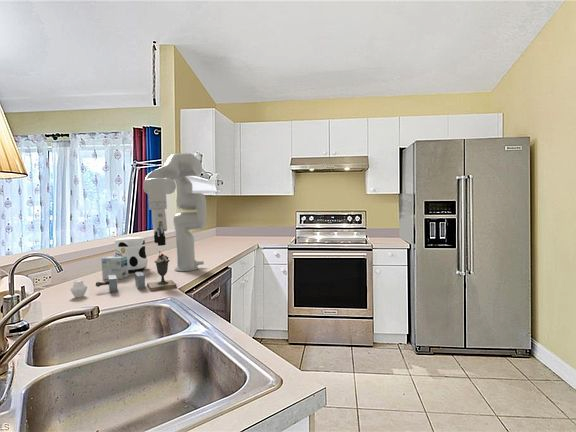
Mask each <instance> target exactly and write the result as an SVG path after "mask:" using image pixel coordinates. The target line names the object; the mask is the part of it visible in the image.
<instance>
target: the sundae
mask: <svg viewBox="0 0 576 432" xmlns="http://www.w3.org/2000/svg"><path fill="white" fill-rule="evenodd" d="M169 262H170V260H169V256H167V255H164V253H161V251H160V250H159V253H158V257H157V259H155V261H154V263H155V266H156V272H157V274H158V275H159V276H160V277H161V279H160V281H161V282H159V281H158V282H159V283H157V284H159V285H162V284H168V283H169V282H166V281H167V280H165V275H166V274H167V273H168V268H169Z"/></svg>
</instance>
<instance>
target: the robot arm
mask: <svg viewBox="0 0 576 432" xmlns="http://www.w3.org/2000/svg"><path fill="white" fill-rule="evenodd" d="M202 172H203V166H202V163H201V161H200V159H198V157H196V155H194V154H193V153H172V154H171V155H169V157H168V158H167V159H166V161H165V163H164V164H163V166H160V167H158V168H155V169H154V170H152V171H151V172H149V173H148V174H147V175H146V176H145V179H144V180H143V182H142V189H143V192H144V193H146V194H147V196H148V199H147V200H148V210H149V211H150V210H151V220H152V222H151V223H152V229H153V239H154V241H153V243H154V244H157V246H158V247H159V246H161V247H162V246H166V243H167V242H166V234H165V232H167V231H168V225H167V214H166V210H167V207H168V204H167V195H171V194H174V192H175V190H176V207H177V209H178V210H180V211H186V212H178V213H176V214H175V215H174V216H173V218H172V219H173V226H174V230H175V239H176V240H175V241H176V243H175V245H176V246H175V247H176V260H177V261H176V263H177V266H175V267H174V271H176V272H190V271H197V269H199V265H200V266H201V265H204V263H205V262H204V260H202V261H199V260H198V261H197V260H195V259H196V257H195V255H196V253H195V238H194V235H193V233H192V232H191V230H204V229H205V228H206V226H207V225H206V224H207V198H206V195H205V194H204V193H202V192H193V183H192V182H191V180H190V179H189V178H188V177H196V176H197V177H198V176H200V175H201V174H202ZM187 211H190V212H187ZM191 211H192V212H191ZM193 211H195V212H193ZM196 211H197V212H196Z"/></svg>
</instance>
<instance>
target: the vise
mask: <svg viewBox="0 0 576 432" xmlns="http://www.w3.org/2000/svg"><path fill="white" fill-rule="evenodd" d="M145 279H146V277H145V274H144V272H143V271H134V280H135V288H136V289H137V290H145V289H146V280H145ZM102 286H108V290H109V294H115V293H118V292H119V290H118V279H117V277H116V275H108V279H107V281H97V282H96V283H95V287H97V288H98V287H99V288H100V287H102Z"/></svg>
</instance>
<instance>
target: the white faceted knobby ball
mask: <svg viewBox="0 0 576 432" xmlns="http://www.w3.org/2000/svg"><path fill="white" fill-rule="evenodd" d="M69 290H70V291H71V294H72V295H73V297H74V298H75V299H76V298H83V297H84V296H85V294H86V292H87V290H88V286H87V285H86V284H85V283H84V281H83V280H79V279H78V280H75V281H74V282H73V284H72V286H71V287H70V289H69Z"/></svg>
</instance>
